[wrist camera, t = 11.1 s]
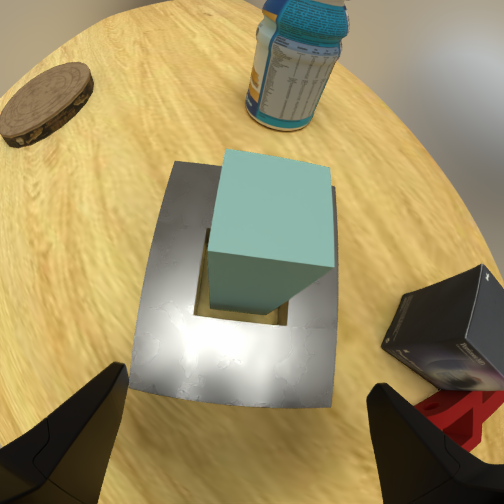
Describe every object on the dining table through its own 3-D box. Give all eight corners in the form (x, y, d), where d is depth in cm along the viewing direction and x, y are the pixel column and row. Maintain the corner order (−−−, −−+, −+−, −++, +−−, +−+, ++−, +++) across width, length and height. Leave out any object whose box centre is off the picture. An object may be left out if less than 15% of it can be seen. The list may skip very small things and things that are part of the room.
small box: (376, 350, 22) (464, 339, 12) (402, 291, 24) (481, 256, 14) (439, 393, 21) (517, 393, 11) (459, 340, 23) (532, 324, 13)
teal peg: (265, 315, 21) (334, 267, 9) (210, 308, 21) (207, 250, 9) (270, 262, 23) (330, 167, 11) (217, 255, 23) (225, 148, 11)
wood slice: (115, 81, 30) (112, 65, 27) (35, 161, 24) (25, 146, 21) (58, 72, 30) (53, 60, 27) (-8, 137, 24) (-16, 125, 21)
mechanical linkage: (399, 469, 18) (429, 482, 13) (396, 413, 20) (430, 420, 15) (486, 407, 20) (513, 407, 16) (484, 359, 23) (513, 354, 18)
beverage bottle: (278, 144, 28) (338, -32, 9) (229, 103, 29) (252, -53, 11) (325, 119, 31) (388, -16, 12) (278, 84, 32) (315, -45, 13)
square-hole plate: (316, 401, 19) (330, 407, 17) (139, 383, 18) (128, 388, 15) (323, 203, 26) (335, 186, 23) (177, 180, 25) (174, 160, 22)
